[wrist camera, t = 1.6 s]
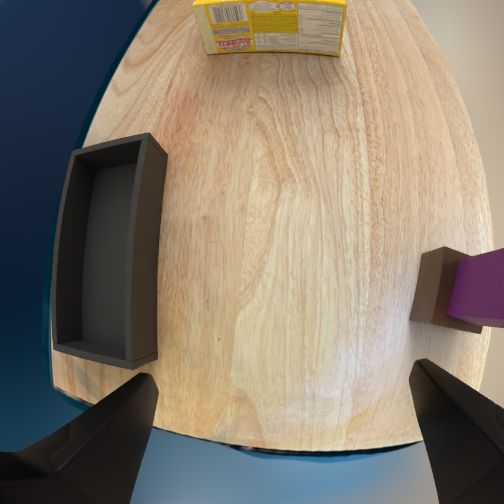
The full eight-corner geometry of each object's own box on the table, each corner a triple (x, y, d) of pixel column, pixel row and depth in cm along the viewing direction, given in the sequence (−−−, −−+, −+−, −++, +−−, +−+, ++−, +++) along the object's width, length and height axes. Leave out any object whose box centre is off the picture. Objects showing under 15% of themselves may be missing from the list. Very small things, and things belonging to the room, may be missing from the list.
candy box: (338, 48, 25) (345, -2, 17) (340, 58, 25) (348, 6, 17) (209, 46, 27) (194, -2, 19) (206, 55, 27) (189, 6, 19)
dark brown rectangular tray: (157, 358, 22) (133, 370, 18) (81, 344, 23) (53, 349, 19) (168, 154, 25) (149, 132, 21) (95, 167, 26) (72, 150, 22)
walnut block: (456, 330, 20) (481, 334, 16) (408, 319, 20) (430, 323, 16) (467, 268, 20) (492, 264, 16) (421, 253, 21) (444, 246, 17)
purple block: (469, 324, 16) (548, 332, 7) (445, 314, 16) (527, 320, 8) (482, 271, 16) (559, 256, 8) (459, 259, 17) (538, 237, 8)
